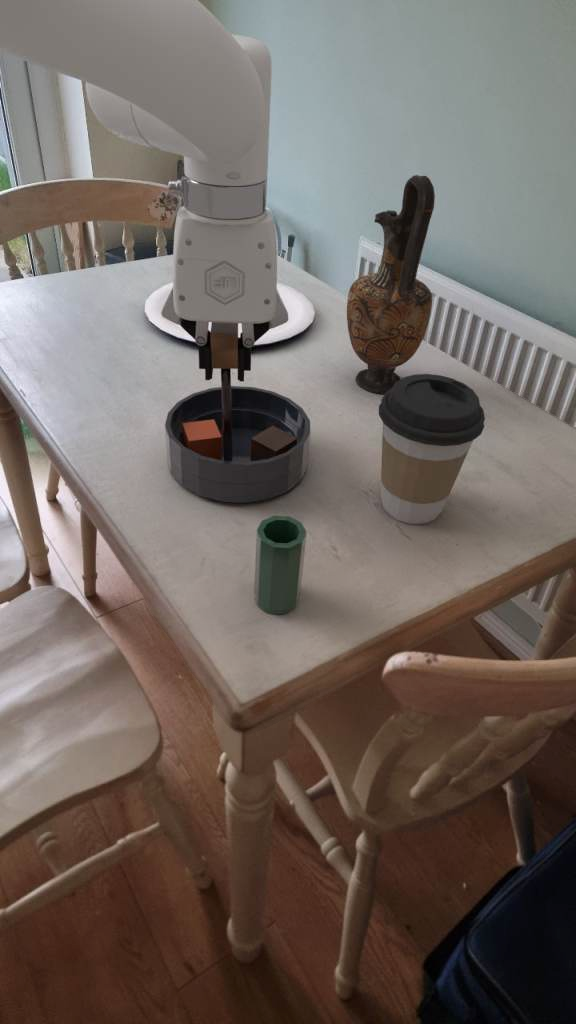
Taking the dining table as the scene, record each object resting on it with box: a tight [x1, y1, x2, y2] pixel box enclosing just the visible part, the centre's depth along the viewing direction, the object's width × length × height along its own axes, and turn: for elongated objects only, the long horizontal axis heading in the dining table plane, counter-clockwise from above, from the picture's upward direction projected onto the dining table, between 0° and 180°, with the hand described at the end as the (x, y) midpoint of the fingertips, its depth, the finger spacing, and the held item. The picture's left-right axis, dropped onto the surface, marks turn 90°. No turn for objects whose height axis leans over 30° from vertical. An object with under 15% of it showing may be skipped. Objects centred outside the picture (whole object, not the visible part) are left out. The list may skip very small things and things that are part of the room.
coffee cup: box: [378, 373, 486, 526], centre depth 77 cm, size 11×11×15 cm
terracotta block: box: [182, 419, 222, 461], centre depth 85 cm, size 4×4×4 cm
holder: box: [253, 515, 307, 616], centre depth 67 cm, size 4×5×9 cm
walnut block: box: [251, 426, 297, 461], centre depth 85 cm, size 4×4×4 cm
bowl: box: [164, 385, 311, 504], centre depth 85 cm, size 17×17×6 cm
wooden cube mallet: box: [210, 322, 238, 461], centre depth 78 cm, size 3×3×18 cm
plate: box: [144, 281, 316, 347], centre depth 119 cm, size 29×29×2 cm
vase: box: [346, 174, 436, 395], centre depth 95 cm, size 12×12×30 cm
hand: (225, 373), depth 76 cm, fingers closed on wooden cube mallet, 2 cm apart
